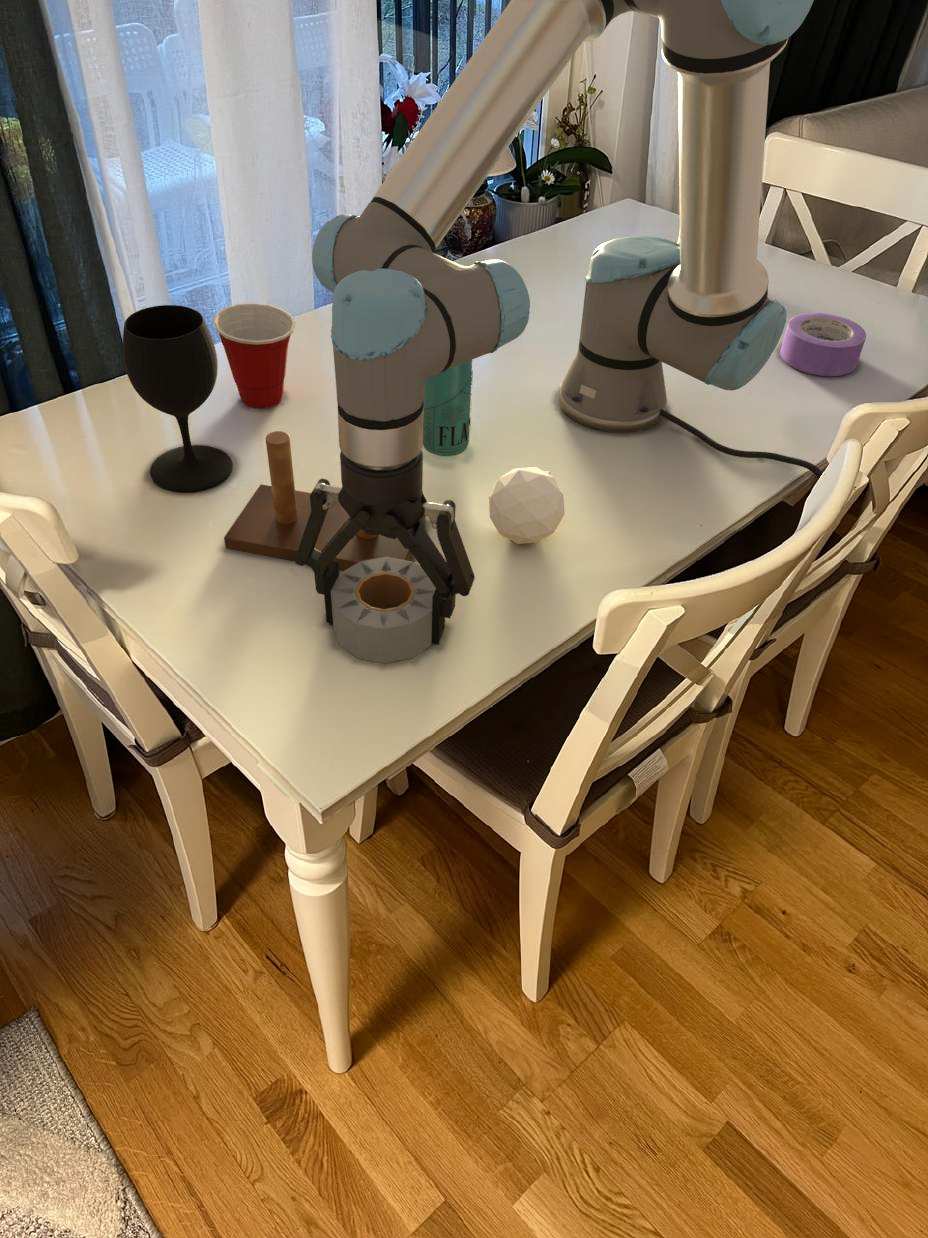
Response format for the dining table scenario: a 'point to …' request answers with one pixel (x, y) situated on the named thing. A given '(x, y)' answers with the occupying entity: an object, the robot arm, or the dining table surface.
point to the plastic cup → (256, 350)
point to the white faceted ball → (526, 505)
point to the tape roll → (822, 344)
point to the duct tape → (383, 610)
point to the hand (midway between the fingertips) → (385, 625)
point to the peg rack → (298, 518)
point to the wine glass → (176, 389)
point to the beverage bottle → (447, 411)
